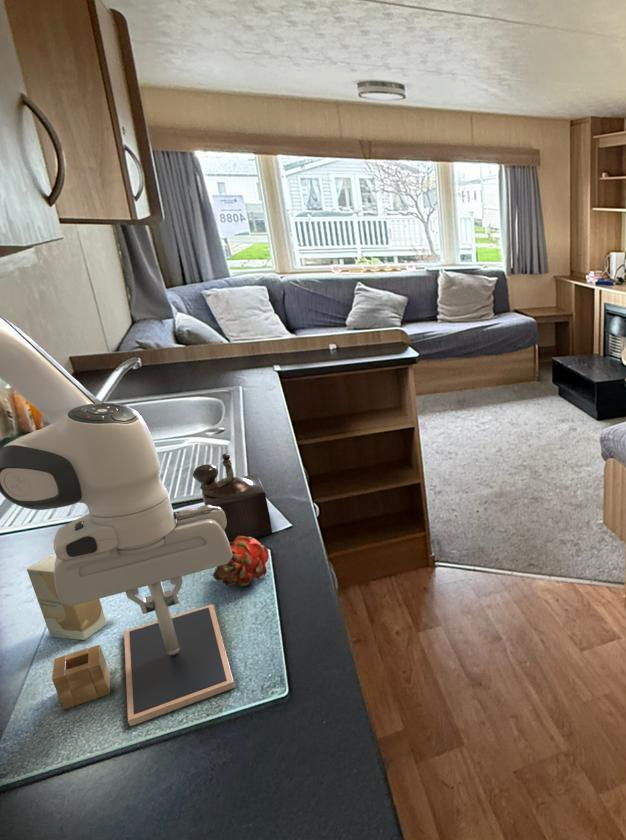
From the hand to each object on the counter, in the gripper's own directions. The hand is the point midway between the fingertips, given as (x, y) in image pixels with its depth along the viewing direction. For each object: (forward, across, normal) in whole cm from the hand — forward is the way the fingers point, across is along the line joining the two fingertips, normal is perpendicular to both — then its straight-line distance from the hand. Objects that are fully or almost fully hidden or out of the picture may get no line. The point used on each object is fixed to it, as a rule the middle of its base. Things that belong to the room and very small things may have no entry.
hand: (161, 606), depth 93 cm
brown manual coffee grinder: (+8, -14, -33) cm, 36 cm away
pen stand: (+8, +10, +2) cm, 13 cm away
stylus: (+7, 0, +2) cm, 7 cm away
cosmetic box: (+8, +12, -15) cm, 20 cm away
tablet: (+8, 0, +2) cm, 8 cm away
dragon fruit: (+8, -12, -16) cm, 21 cm away
